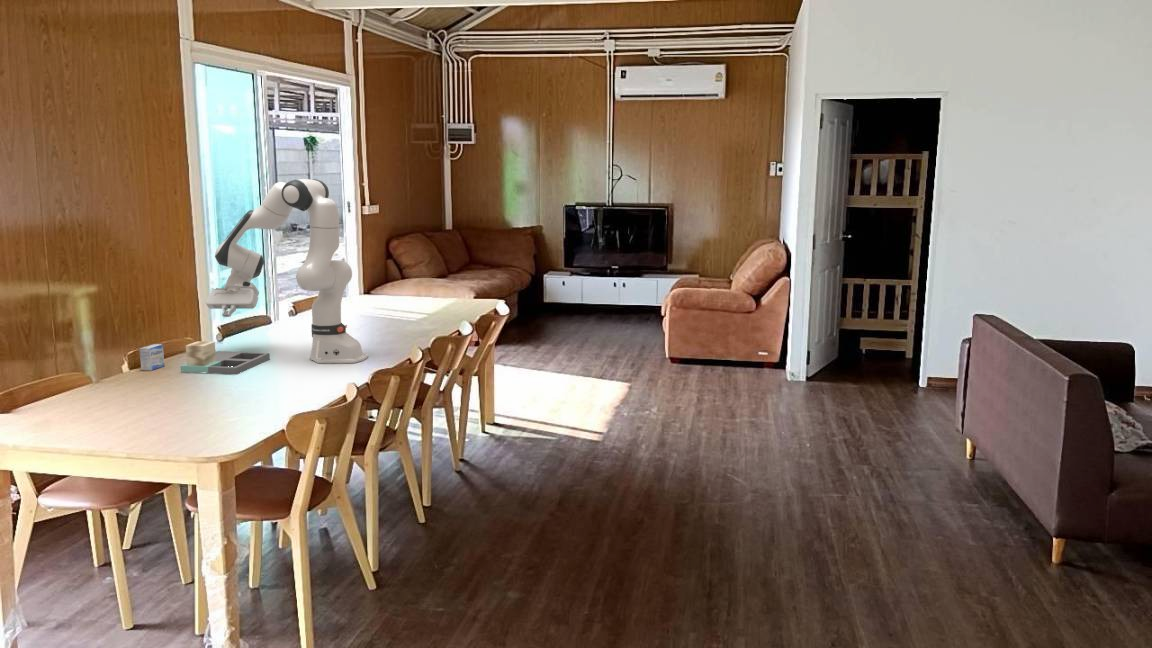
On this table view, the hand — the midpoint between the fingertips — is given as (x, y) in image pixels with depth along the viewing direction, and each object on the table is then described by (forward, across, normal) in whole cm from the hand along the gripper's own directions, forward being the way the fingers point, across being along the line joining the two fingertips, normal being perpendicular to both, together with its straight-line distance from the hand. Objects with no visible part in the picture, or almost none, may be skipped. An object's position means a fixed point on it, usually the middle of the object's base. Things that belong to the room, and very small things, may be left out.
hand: (226, 315), depth 351 cm
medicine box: (+26, -20, -2) cm, 33 cm away
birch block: (+24, 0, -3) cm, 24 cm away
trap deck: (+21, +5, +4) cm, 22 cm away
